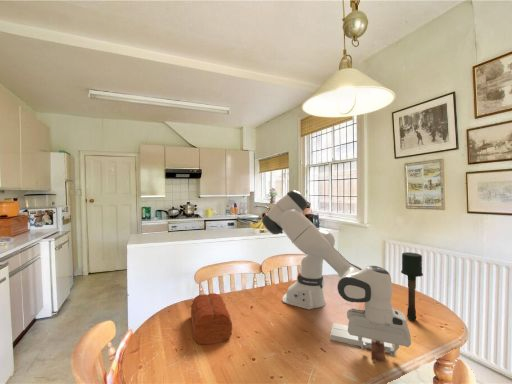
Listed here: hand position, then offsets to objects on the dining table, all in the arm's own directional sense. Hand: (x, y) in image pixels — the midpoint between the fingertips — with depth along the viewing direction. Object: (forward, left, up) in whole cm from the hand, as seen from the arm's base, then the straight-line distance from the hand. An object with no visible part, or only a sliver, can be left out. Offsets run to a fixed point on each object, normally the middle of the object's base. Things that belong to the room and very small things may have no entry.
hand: (377, 351), depth 93 cm
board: (-6, +9, -2) cm, 11 cm away
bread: (-66, -6, -2) cm, 67 cm away
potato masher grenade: (+15, +36, -2) cm, 39 cm away
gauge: (0, +4, -2) cm, 4 cm away
